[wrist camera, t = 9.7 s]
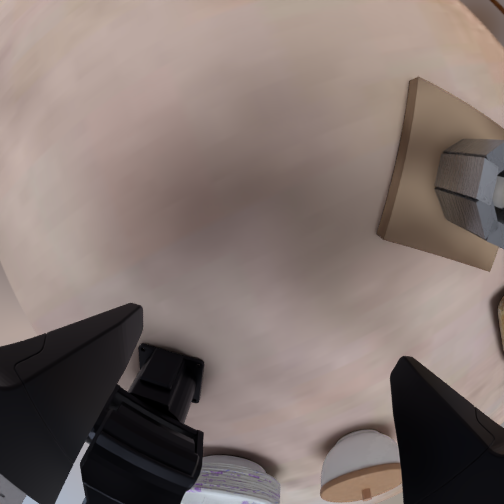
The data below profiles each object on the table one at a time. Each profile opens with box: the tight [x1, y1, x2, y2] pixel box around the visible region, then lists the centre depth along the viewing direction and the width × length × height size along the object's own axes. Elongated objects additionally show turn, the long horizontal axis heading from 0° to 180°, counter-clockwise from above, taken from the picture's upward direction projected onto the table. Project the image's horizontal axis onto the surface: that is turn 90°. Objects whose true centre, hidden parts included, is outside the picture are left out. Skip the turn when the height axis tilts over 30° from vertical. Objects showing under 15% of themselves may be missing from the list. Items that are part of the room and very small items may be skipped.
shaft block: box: [377, 77, 504, 272], centre depth 14 cm, size 12×12×6 cm
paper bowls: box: [181, 455, 280, 504], centre depth 29 cm, size 15×15×8 cm
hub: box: [434, 139, 504, 249], centre depth 13 cm, size 6×6×5 cm
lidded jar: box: [320, 429, 402, 502], centre depth 23 cm, size 11×11×9 cm
